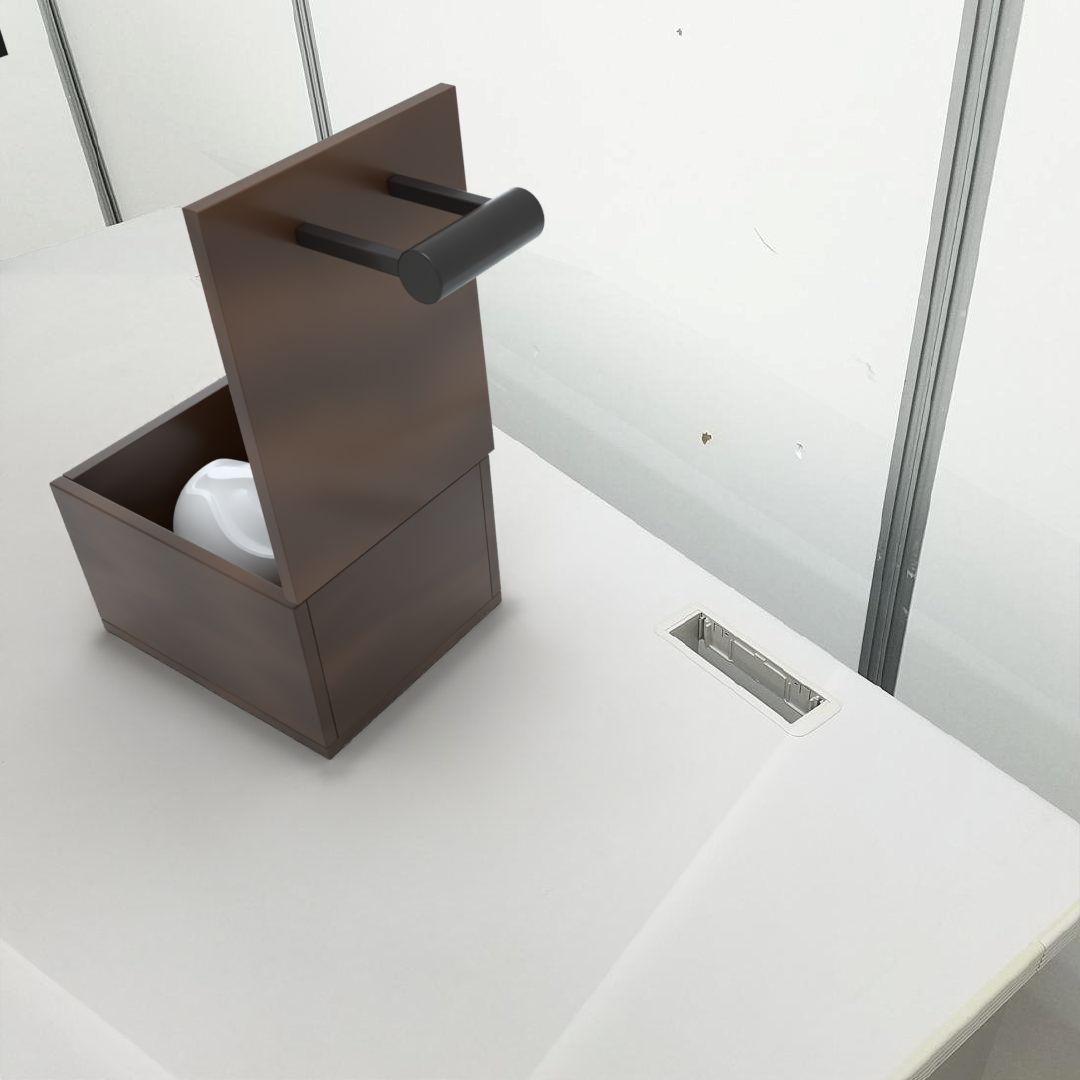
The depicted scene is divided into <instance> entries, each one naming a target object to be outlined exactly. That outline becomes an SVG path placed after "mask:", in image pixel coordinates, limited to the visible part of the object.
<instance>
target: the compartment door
mask: <svg viewBox="0 0 1080 1080" xmlns="http://www.w3.org/2000/svg"><path fill="white" fill-rule="evenodd" d="M457 93H458V92H457V86H456V85H454V84H449V83H445V82H439V83H437V84H435V85H433V86H431V87H429V88H427V89H424V90H423V91H421V92H419V93H417V94H414V95H412V96H410V97H408V98H406V99H404V100H402V101H400V102H397V103H396V104H394V105H392V106H390V107H388V108H385V109H384V110H381V111H379V112H378V113H375V114H373V115H370V116H369V117H366V118H365V119H362V120H361V121H359V122H356V123H355V124H352V125H350V126H349V127H346V128H344V129H342V130H340V131H337V132H336V133H334V134H332V135H329V136H327V137H326V138H323V139H321V140H319V141H317V142H315V143H313V144H311V145H309V146H307V147H305V148H303V149H300V150H298V151H297V152H294V153H293V154H290V155H288V156H287V157H284V158H282V159H280V160H278V161H275V162H274V163H272V164H270V165H268V166H265V167H264V168H261V169H259V170H258V171H255V172H253V173H250V174H249V175H247V176H245V177H243V178H241V179H239V180H237V181H235V182H233V183H231V184H229V185H226V186H225V187H222V188H220V189H218V190H216V191H214V192H212V193H210V194H207V195H206V196H204V197H201V198H200V199H197V200H195V201H193V202H191V203H189V204H187V205H185V206H183V207H181V212H182V214H183V215H182V216H183V219H184V222H185V226H186V230H187V234H188V238H189V242H190V245H191V250H192V253H193V257H194V260H195V264H196V268H197V271H198V276H199V280H200V283H201V287H202V291H203V293H204V298H205V301H206V305H207V309H208V314H209V316H210V320H211V324H212V328H213V332H214V335H215V340H216V344H217V347H218V350H219V354H220V355H219V356H220V359H221V362H222V366H223V369H224V373H225V375H226V377H227V381H228V385H229V388H230V392H231V396H232V400H233V404H234V407H235V411H236V415H237V419H238V422H239V426H240V430H241V434H242V437H243V441H244V445H245V449H246V452H247V456H248V460H249V464H250V467H251V471H252V475H253V479H254V482H255V486H256V490H257V494H258V497H259V501H260V505H261V509H262V513H263V516H264V520H265V524H266V528H267V531H268V535H269V539H270V543H271V546H272V550H273V554H274V558H275V561H276V565H277V569H278V573H279V576H280V580H281V584H282V588H283V591H284V595H285V599H287V600H289V601H291V602H293V603H295V604H297V605H299V604H301V603H302V602H303V601H304V600H306V599H307V598H308V597H309V596H311V595H312V594H313V593H314V592H316V591H317V590H318V589H319V588H321V587H322V586H323V585H324V584H326V583H327V582H328V581H330V580H331V579H332V578H333V577H335V576H336V575H337V574H338V573H340V572H341V571H342V570H343V569H345V568H346V567H347V566H348V565H350V564H351V563H352V562H353V561H355V560H356V559H357V558H358V557H360V556H361V555H362V554H363V553H365V552H366V551H367V550H368V549H370V548H371V547H372V546H373V545H375V544H376V543H377V542H379V541H380V540H381V539H382V538H384V537H385V536H386V535H387V534H389V533H390V532H391V531H392V530H394V529H395V528H396V527H397V526H399V525H400V524H401V523H402V522H404V521H405V520H406V519H407V518H409V517H410V516H411V515H412V514H414V513H415V512H416V511H417V510H419V509H420V508H421V507H422V506H424V505H425V504H426V503H428V502H429V501H430V500H431V499H433V498H434V497H435V496H436V495H438V494H439V493H440V492H441V491H443V490H444V489H445V488H446V487H448V486H449V485H450V484H451V483H453V482H454V481H455V480H456V479H458V478H459V477H460V476H461V475H463V474H464V473H465V472H466V471H468V470H469V469H470V468H471V467H473V466H474V465H475V464H477V463H478V462H479V461H480V460H482V459H483V458H484V457H485V456H487V455H489V454H490V453H492V452H493V451H494V450H495V448H496V447H495V438H494V428H493V419H492V411H491V402H490V401H491V400H490V391H489V382H488V372H487V363H486V354H485V345H484V335H483V325H482V317H481V308H480V300H479V288H478V280H477V279H478V277H479V276H480V275H482V274H483V273H485V272H486V271H488V270H490V269H491V268H492V267H494V266H495V265H497V264H498V263H500V262H501V261H504V260H505V259H506V258H508V257H510V256H511V255H512V254H514V253H516V252H517V251H519V250H520V249H522V248H524V247H525V246H527V245H528V244H530V243H531V242H532V241H534V240H535V239H537V238H538V237H540V236H541V234H542V233H543V231H544V229H545V224H546V218H545V211H544V209H543V206H542V204H541V202H540V200H539V199H538V197H536V195H535V194H534V193H533V192H531V191H530V190H528V189H526V188H523V187H521V186H513V187H510V188H508V189H506V190H504V191H503V192H501V193H500V194H497V195H496V196H494V197H493V198H491V197H487V196H484V195H480V194H476V193H473V192H469V191H468V186H467V176H466V168H465V167H466V166H465V160H464V158H465V157H464V151H463V140H462V132H461V131H462V130H461V122H460V121H461V120H460V113H459V111H460V110H459V103H458V102H459V101H458V95H457Z"/></svg>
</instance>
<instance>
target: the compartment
mask: <svg viewBox="0 0 1080 1080" xmlns="http://www.w3.org/2000/svg"><path fill="white" fill-rule="evenodd" d="M218 459H231V460H237V461H242V462H246V463H249V460H248V456H247V452H246V449H245V445H244V441H243V437H242V434H241V430H240V426H239V422H238V419H237V415H236V411H235V407H234V404H233V400H232V396H231V392H230V388H229V385H228V381H227V377H226V374H225V375H224V376H222V377H221V378H219V379H217V380H215V381H214V382H212V383H210V384H209V385H207V386H205V387H204V388H202V389H201V390H199V391H197V392H195V393H194V394H192V395H191V396H189V397H188V398H185V399H183V401H181V402H180V403H177V404H176V405H175V406H173V407H171V408H169V409H168V410H166V411H164V412H163V413H161V414H159V415H158V416H155V418H153V419H151V420H150V421H148V422H146V423H144V424H143V425H142V426H139V427H138V428H137V429H135V430H133V431H132V432H130V433H128V434H126V435H125V436H123V437H121V438H120V439H118V440H117V441H115V442H113V443H112V444H110V445H109V446H108V445H107V447H105V448H104V449H102V450H100V451H98V452H97V453H95V454H93V455H92V456H90V457H89V458H87V459H86V460H84V461H82V462H81V463H79V464H77V465H75V466H73V467H71V469H69V470H67V471H66V472H64V473H62V474H61V475H60V476H58V477H56V478H55V479H54V480H51V481H50V482H49V483H48V485H49V487H50V490H51V492H52V493H51V494H52V495H53V497H54V501H55V503H56V506H57V508H58V511H59V513H60V516H61V518H62V521H63V523H64V527H65V529H66V532H67V535H68V536H69V537H68V538H69V539H70V542H71V545H72V548H73V550H74V551H75V552H74V553H75V555H76V558H77V560H78V562H79V566H80V567H81V571H82V573H83V576H84V579H85V581H86V583H87V586H88V588H89V591H90V594H91V596H92V599H93V602H94V605H95V607H96V609H97V612H98V615H99V617H100V618H101V622H102V626H103V628H104V629H105V630H107V631H108V632H110V633H111V634H113V635H115V636H117V637H119V638H120V639H122V640H124V641H126V642H127V643H129V644H131V645H132V646H134V647H136V648H137V649H139V650H141V651H143V652H144V653H146V654H148V655H150V656H151V657H153V658H155V659H157V660H158V661H160V662H162V663H164V664H165V665H166V666H169V667H170V668H172V669H174V670H175V671H177V672H179V673H180V674H182V675H184V676H185V677H187V678H188V679H191V680H193V681H194V682H195V683H197V684H200V685H201V686H203V687H204V688H206V689H208V690H210V691H211V692H213V693H215V694H217V695H219V696H220V697H222V698H224V699H225V700H227V701H229V702H231V703H232V704H234V705H235V706H237V707H239V708H241V709H243V710H244V711H246V712H248V713H249V714H251V715H253V716H255V718H258V719H259V720H262V721H263V722H265V723H266V724H268V725H270V726H272V727H274V728H275V729H277V730H279V731H280V732H282V733H284V734H285V735H288V736H289V737H290V738H292V739H294V740H296V741H297V742H299V743H301V744H303V745H304V746H306V747H308V748H310V749H311V750H313V751H314V752H316V753H318V754H320V755H321V756H323V757H325V758H326V759H329V760H331V759H333V757H334V756H336V755H337V754H338V753H339V752H340V750H342V749H343V748H344V747H345V746H346V745H347V744H348V743H349V742H350V741H352V740H353V738H355V737H356V736H357V735H358V734H359V733H360V732H361V731H363V729H364V728H365V727H367V726H368V725H369V724H370V723H371V722H372V721H373V720H374V719H375V718H376V717H378V715H380V714H381V713H382V712H383V711H384V710H385V709H386V708H387V707H388V706H390V705H391V704H392V703H393V702H394V701H395V700H396V699H397V698H398V697H399V696H400V695H402V693H404V691H406V690H407V689H408V688H409V687H410V686H411V685H412V684H413V683H415V682H416V681H417V680H418V678H420V677H421V676H422V675H424V673H426V672H427V670H429V668H431V667H432V666H433V665H434V664H435V663H436V662H437V661H438V660H439V659H441V658H442V657H443V656H444V655H445V654H446V653H447V652H448V651H449V650H450V649H451V648H453V647H454V646H455V645H456V644H457V643H458V642H459V641H460V640H461V639H462V638H463V637H464V636H465V635H466V634H468V633H469V632H470V631H471V630H472V629H473V628H474V627H476V625H478V624H479V622H480V621H482V620H483V619H484V618H485V617H486V616H487V615H488V614H489V613H490V612H491V611H492V610H494V609H495V608H496V607H497V606H498V605H499V604H500V603H501V602H502V600H503V597H502V584H501V572H500V564H499V563H500V562H499V553H498V552H499V551H498V550H499V549H498V539H497V528H496V518H495V507H494V506H495V505H494V493H493V484H492V473H491V461H490V455H489V454H488V455H487V456H485V457H484V458H483V459H482V460H480V461H479V462H478V463H477V464H475V465H474V466H473V467H471V468H470V469H469V470H468V471H466V472H465V473H464V474H463V475H461V476H460V477H459V478H458V479H456V480H455V481H454V482H453V483H451V484H450V485H449V486H448V487H446V488H445V489H444V490H443V491H441V492H440V493H439V494H438V495H436V496H435V497H434V498H433V499H431V500H430V501H429V502H428V503H426V504H425V505H424V506H422V507H421V508H420V509H419V510H417V511H416V512H415V513H414V514H412V515H411V516H410V517H409V518H407V519H406V520H405V521H404V522H402V523H401V524H400V525H399V526H397V527H396V528H395V529H394V530H392V531H391V532H390V533H389V534H387V535H386V536H385V537H384V538H382V539H381V540H380V541H379V542H377V543H376V544H375V545H373V546H372V547H371V548H370V549H368V550H367V551H366V552H365V553H363V554H362V555H361V556H360V557H358V558H357V559H356V560H355V561H353V562H352V563H351V564H350V565H348V566H347V567H346V568H345V569H343V570H342V571H341V572H340V573H338V574H337V575H336V576H335V577H333V578H332V579H331V580H330V581H328V582H327V583H326V584H324V585H323V586H322V587H321V588H319V589H318V590H317V591H316V592H314V593H313V594H312V595H311V596H309V597H308V598H307V599H306V600H304V601H303V602H302V603H301V604H299V605H297V604H295V603H293V602H291V601H289V600H287V599H285V595H284V591H283V589H282V588H280V587H278V586H277V585H275V584H273V583H271V582H269V581H267V580H265V579H263V578H261V577H259V576H257V575H255V574H253V573H251V572H249V571H247V570H245V569H243V568H241V567H239V566H237V565H235V564H234V563H232V562H230V561H228V560H226V559H224V558H222V557H220V556H218V555H216V554H214V553H212V552H210V551H208V550H206V549H204V548H202V547H200V546H198V545H196V544H194V543H192V542H190V541H189V540H187V539H185V538H183V537H181V536H179V535H177V534H175V533H174V530H173V518H174V511H175V507H176V504H177V501H178V498H179V496H180V494H181V492H182V490H183V488H184V487H185V485H186V484H187V482H188V481H189V480H190V479H191V478H192V477H193V476H194V475H195V474H196V473H197V472H198V471H199V470H200V469H202V468H203V467H204V466H206V465H207V464H209V463H211V462H213V461H215V460H218Z"/></svg>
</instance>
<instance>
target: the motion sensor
mask: <svg viewBox="0 0 1080 1080" xmlns="http://www.w3.org/2000/svg"><path fill="white" fill-rule="evenodd" d="M173 530H174V533H175V534H177V535H179V536H181V537H183V538H185V539H187V540H189V541H190V542H192V543H194V544H196V545H198V546H200V547H202V548H204V549H206V550H208V551H210V552H212V553H214V554H216V555H218V556H220V557H222V558H224V559H226V560H228V561H230V562H232V563H234V564H235V565H237V566H239V567H241V568H243V569H245V570H247V571H249V572H251V573H253V574H255V575H257V576H259V577H261V578H263V579H265V580H267V581H269V582H271V583H273V584H275V585H277V586H278V587H280V588H282V584H281V580H280V576H279V573H278V569H277V565H276V561H275V558H274V554H273V550H272V546H271V543H270V539H269V535H268V531H267V528H266V524H265V520H264V516H263V513H262V509H261V505H260V501H259V497H258V494H257V490H256V486H255V482H254V479H253V475H252V471H251V467H250V464H249V463H246V462H242V461H237V460H231V459H218V460H215V461H213V462H211V463H209V464H207V465H206V466H204V467H203V468H202V469H200V470H199V471H198V472H197V473H196V474H195V475H194V476H193V477H192V478H191V479H190V480H189V481H188V482H187V484H186V485H185V487H184V488H183V490H182V492H181V494H180V496H179V498H178V501H177V504H176V507H175V511H174V518H173ZM282 589H283V588H282Z"/></svg>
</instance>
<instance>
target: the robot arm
mask: <svg viewBox="0 0 1080 1080" xmlns="http://www.w3.org/2000/svg"><path fill="white" fill-rule="evenodd" d="M7 56H9V53H8V49H7V46H6V42H5V40H4V36H3V33H2V31H1V29H0V59H1V58H3V57H7Z"/></svg>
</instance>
